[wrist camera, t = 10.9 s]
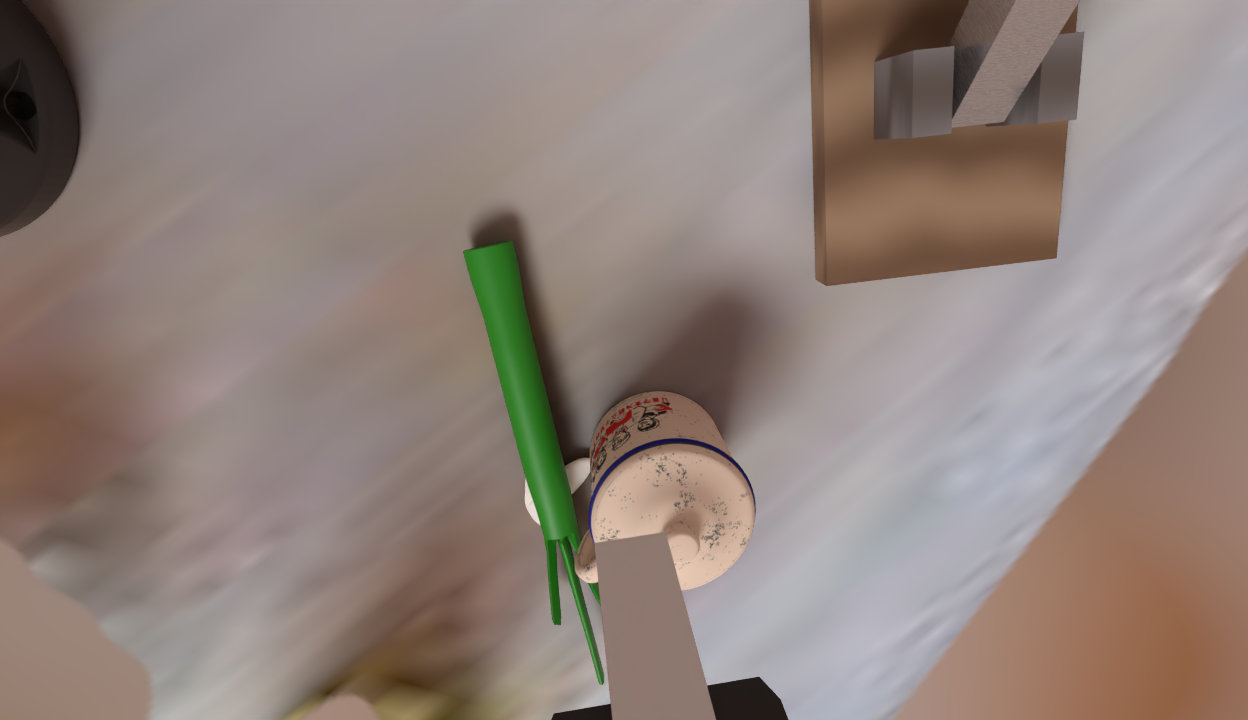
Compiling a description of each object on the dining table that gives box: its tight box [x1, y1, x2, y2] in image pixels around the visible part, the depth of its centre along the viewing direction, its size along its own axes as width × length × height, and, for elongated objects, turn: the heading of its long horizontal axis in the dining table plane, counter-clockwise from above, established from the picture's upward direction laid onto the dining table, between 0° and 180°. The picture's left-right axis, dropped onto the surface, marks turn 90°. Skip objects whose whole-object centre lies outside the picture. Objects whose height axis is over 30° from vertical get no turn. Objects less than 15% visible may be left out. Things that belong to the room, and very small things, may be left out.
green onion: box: [463, 241, 604, 685], centre depth 43 cm, size 5×3×30 cm
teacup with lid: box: [575, 391, 756, 591], centre depth 40 cm, size 12×9×12 cm
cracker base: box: [809, 0, 1084, 286], centre depth 34 cm, size 26×14×9 cm, turn 6°
